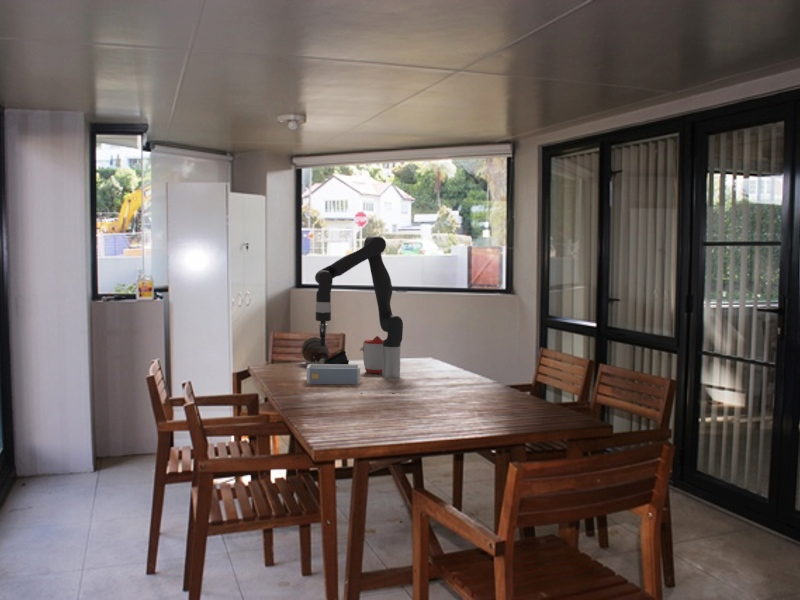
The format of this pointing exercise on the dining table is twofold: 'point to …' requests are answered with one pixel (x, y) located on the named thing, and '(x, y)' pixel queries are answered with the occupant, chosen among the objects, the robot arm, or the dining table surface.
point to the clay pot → (314, 351)
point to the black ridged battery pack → (337, 358)
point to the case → (332, 367)
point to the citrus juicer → (373, 355)
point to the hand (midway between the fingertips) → (322, 346)
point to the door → (333, 375)
